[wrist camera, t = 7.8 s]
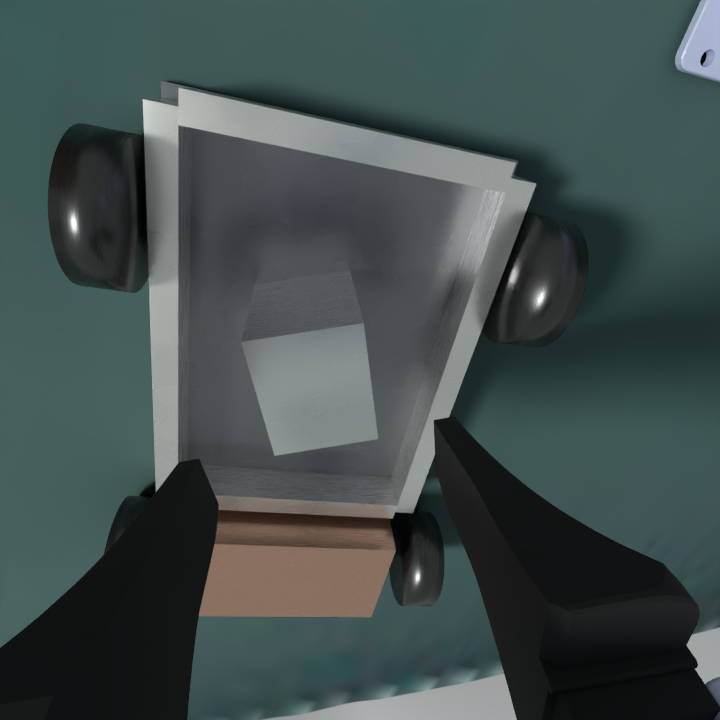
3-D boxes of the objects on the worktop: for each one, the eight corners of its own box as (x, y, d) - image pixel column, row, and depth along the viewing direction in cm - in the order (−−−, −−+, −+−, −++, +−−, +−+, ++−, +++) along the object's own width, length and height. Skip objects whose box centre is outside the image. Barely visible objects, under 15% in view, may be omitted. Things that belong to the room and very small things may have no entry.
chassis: (555, 168, 18) (633, 193, 14) (404, 557, 30) (420, 635, 26) (106, 67, 15) (25, 58, 10) (138, 548, 27) (106, 635, 22)
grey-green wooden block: (350, 270, 19) (363, 322, 15) (363, 369, 21) (378, 438, 17) (255, 284, 19) (240, 341, 14) (280, 382, 21) (274, 455, 17)
